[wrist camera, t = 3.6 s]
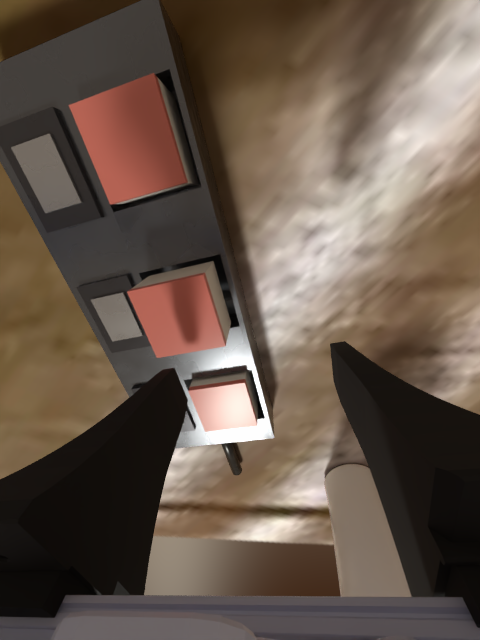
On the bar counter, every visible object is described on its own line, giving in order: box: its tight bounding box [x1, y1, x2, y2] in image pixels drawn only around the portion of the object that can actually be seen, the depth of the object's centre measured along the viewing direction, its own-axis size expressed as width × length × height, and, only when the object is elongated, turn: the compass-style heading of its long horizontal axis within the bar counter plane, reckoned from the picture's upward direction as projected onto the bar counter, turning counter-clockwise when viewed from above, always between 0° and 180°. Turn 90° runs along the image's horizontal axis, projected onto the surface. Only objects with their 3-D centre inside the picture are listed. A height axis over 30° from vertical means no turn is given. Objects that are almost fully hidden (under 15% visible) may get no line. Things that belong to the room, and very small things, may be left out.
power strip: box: [0, 0, 274, 475], centre depth 18 cm, size 10×32×3 cm, turn 14°
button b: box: [127, 261, 231, 358], centre depth 14 cm, size 4×4×3 cm
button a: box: [188, 370, 258, 432], centre depth 19 cm, size 4×4×3 cm
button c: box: [69, 73, 199, 204], centre depth 13 cm, size 4×4×3 cm
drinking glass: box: [324, 464, 412, 597], centre depth 19 cm, size 7×7×15 cm
